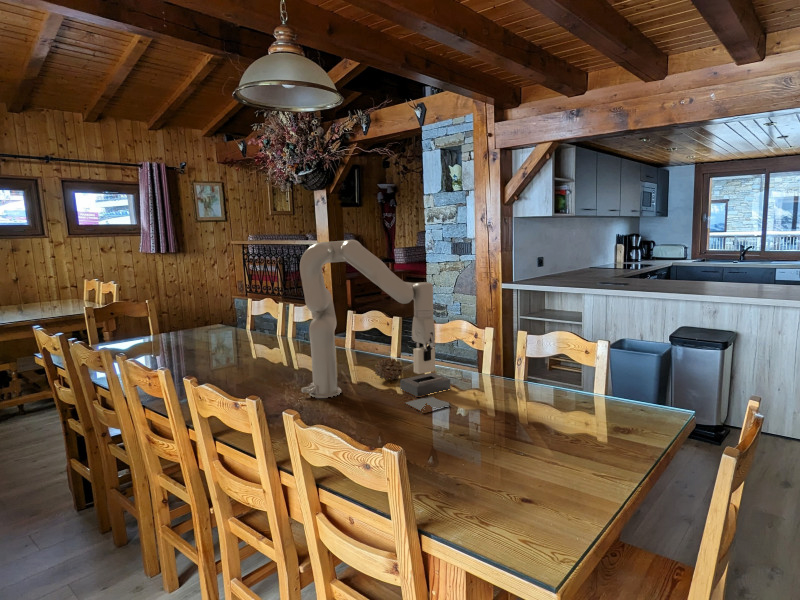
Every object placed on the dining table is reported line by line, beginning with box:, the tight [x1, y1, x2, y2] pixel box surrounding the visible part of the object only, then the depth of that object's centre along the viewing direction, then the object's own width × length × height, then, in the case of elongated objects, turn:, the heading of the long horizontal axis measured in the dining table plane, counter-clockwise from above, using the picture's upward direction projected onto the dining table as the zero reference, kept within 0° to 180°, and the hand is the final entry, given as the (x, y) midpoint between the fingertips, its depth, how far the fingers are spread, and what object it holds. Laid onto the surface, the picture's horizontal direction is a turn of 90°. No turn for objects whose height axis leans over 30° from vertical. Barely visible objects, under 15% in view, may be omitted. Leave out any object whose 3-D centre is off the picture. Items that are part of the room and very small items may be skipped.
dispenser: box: [399, 372, 451, 397], centre depth 200 cm, size 16×12×5 cm
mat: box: [404, 395, 451, 412], centre depth 183 cm, size 12×12×1 cm
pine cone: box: [374, 357, 414, 381], centre depth 217 cm, size 22×10×10 cm, turn 129°
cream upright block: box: [412, 346, 436, 375], centre depth 199 cm, size 8×4×10 cm, turn 123°
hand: (424, 359), depth 199 cm, fingers closed on cream upright block, 3 cm apart
